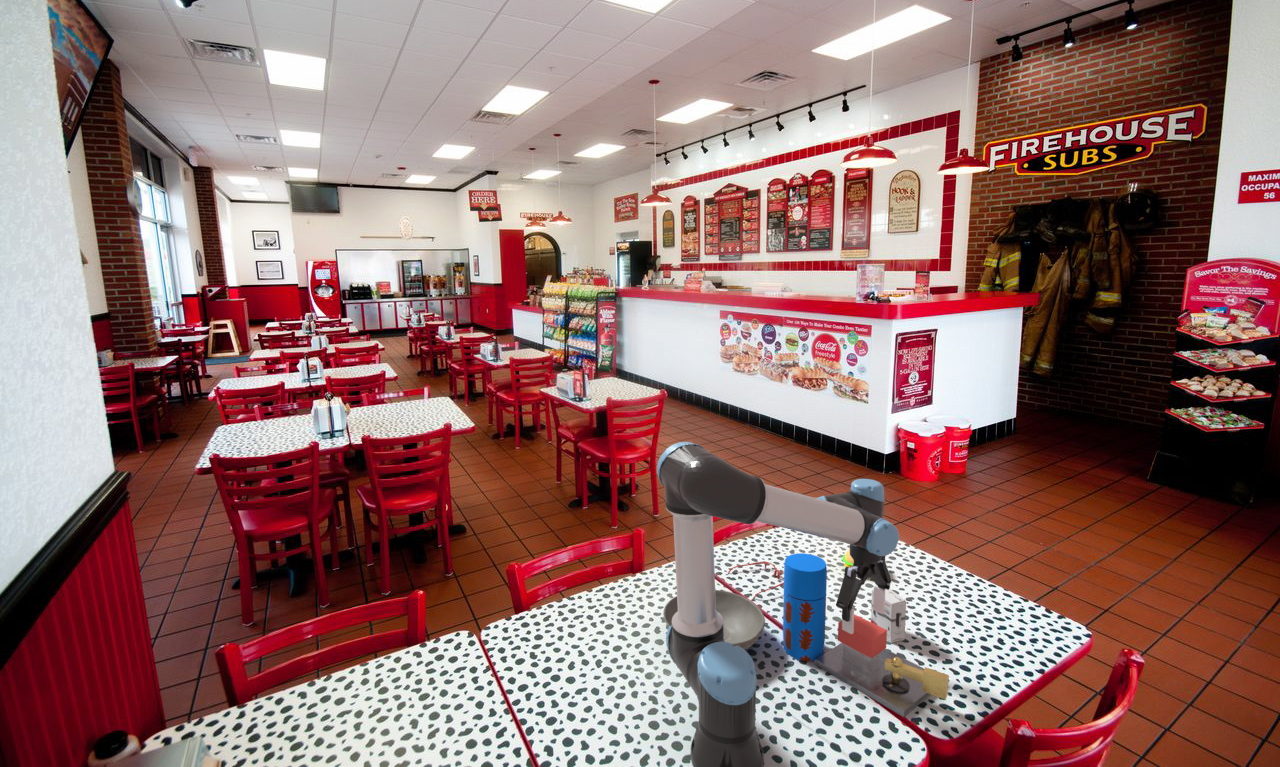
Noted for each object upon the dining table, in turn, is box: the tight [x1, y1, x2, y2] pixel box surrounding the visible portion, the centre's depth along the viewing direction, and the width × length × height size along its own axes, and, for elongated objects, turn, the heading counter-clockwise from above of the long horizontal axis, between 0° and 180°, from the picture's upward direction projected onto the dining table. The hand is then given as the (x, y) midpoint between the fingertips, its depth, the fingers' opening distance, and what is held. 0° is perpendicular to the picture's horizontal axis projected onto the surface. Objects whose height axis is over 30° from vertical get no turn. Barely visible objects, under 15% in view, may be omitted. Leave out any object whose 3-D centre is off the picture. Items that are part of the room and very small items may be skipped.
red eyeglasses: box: [727, 561, 784, 599], centre depth 192 cm, size 17×16×5 cm
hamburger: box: [842, 548, 854, 568], centre depth 199 cm, size 12×12×9 cm
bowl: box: [662, 589, 766, 651], centre depth 162 cm, size 27×28×8 cm
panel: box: [814, 642, 931, 718], centre depth 147 cm, size 18×24×6 cm
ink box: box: [870, 588, 907, 644], centre depth 164 cm, size 8×5×12 cm, turn 17°
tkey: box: [885, 657, 950, 700], centre depth 138 cm, size 14×2×6 cm, turn 52°
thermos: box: [782, 552, 828, 662], centre depth 156 cm, size 11×11×25 cm
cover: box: [837, 613, 888, 658], centre depth 149 cm, size 6×10×5 cm
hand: (863, 621), depth 148 cm, fingers open, 13 cm apart
